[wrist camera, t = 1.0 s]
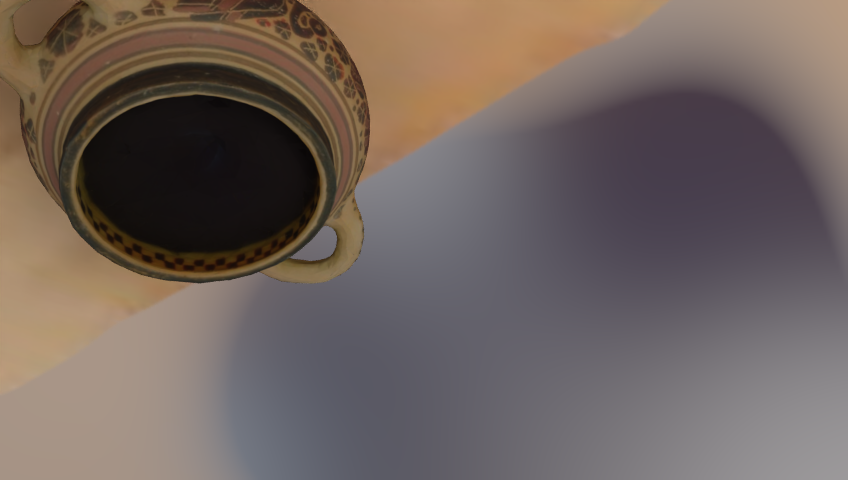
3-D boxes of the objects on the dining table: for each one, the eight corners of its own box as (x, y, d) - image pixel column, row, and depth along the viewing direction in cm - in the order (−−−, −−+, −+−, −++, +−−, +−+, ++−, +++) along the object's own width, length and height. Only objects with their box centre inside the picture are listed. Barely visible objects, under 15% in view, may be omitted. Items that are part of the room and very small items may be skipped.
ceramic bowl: (-37, -66, 43) (-178, 121, 34) (212, -231, 36) (121, -54, 27) (245, 200, 60) (204, 375, 50) (453, 122, 53) (450, 309, 43)
